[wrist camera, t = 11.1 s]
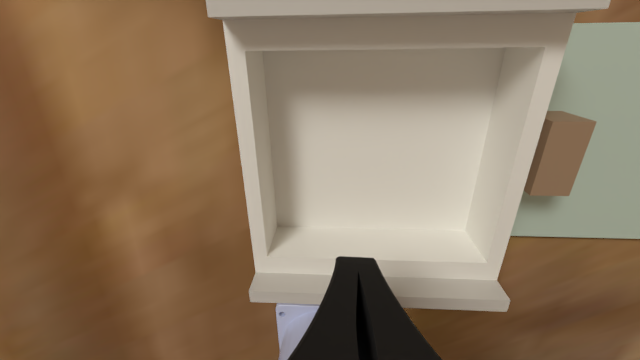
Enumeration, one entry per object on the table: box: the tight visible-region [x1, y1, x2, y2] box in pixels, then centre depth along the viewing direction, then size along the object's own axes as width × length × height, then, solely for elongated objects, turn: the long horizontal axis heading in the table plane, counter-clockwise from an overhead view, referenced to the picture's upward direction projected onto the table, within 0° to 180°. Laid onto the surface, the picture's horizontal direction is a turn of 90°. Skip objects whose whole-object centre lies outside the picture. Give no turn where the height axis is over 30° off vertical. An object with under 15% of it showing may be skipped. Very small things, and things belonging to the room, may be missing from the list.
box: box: [206, 0, 611, 312], centre depth 16 cm, size 15×14×6 cm
